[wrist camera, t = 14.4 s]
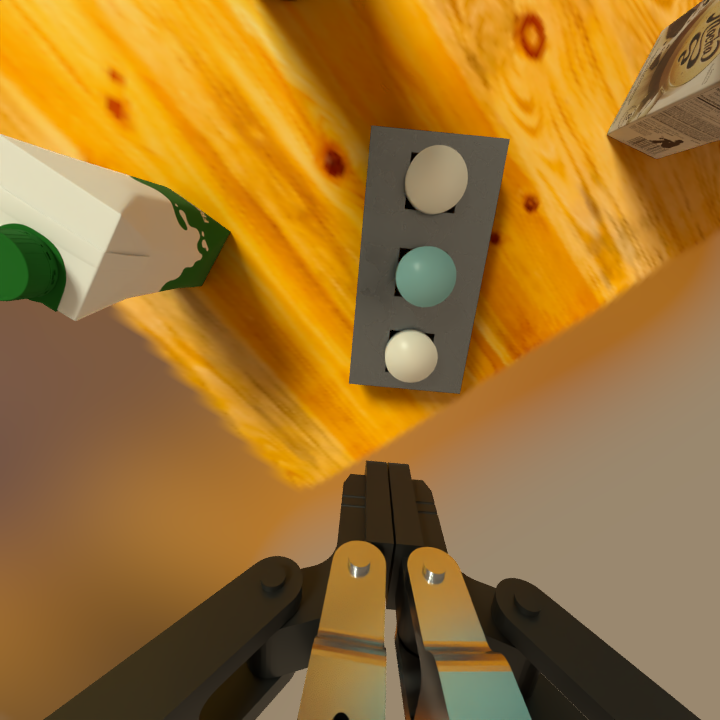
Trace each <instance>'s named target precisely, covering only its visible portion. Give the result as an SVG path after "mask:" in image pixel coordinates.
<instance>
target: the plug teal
mask: <svg viewBox="0 0 720 720" xmlns="http://www.w3.org/2000/svg"><path fill="white" fill-rule="evenodd" d="M395 281H396V286H397V288H398V290H399V292H400V294H401V295H402V296H403V298H404V299H405V300H406V301H408V302H409V303H411V304H413V305H415V306H418V307H431V306H435V305H437V304H439V303H441V302H443V301H444V300H445V299H446V298H447V297H448V296H449V295H450V293H451V292H452V290H453V288H454V286H455V282H456V268H455V264H454V262H453V260H452V259H451V257H450V256H449V255H448V254H447V253H446V252H445V251H443V250H442V249H439V248H437V247H432V246H423V247H417V248H415V249H412V250H411V251H409V252H408V253H406V254H405V255H404V256H403V257H402V259H401V260H400V262H399V264H398V266H397V269H396V273H395Z"/></svg>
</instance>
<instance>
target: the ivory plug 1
mask: <svg viewBox="0 0 720 720" xmlns="http://www.w3.org/2000/svg"><path fill="white" fill-rule="evenodd" d="M467 182H468V171H467V167H466V164H465V161H464V159H463V158H462V156H461V155H460V154H459V153H458V152H457V151H456V150H454V149H453V148H451V147H448V146H445V145H434V146H430V147H428V148H425V149H424V150H422V151H421V152H420V153H418V155H417V156H416V157H415V158H414V159H413V161H412V162H411V164H410V166H409V168H408V170H407V173H406V177H405V192H406V196H407V198H408V200H409V202H410V204H411V205H412V206H413V207H414V208H415V209H416V210H418V211H420V212H422V213H424V214H429V215H434V214H440V213H442V212H445V211H447V210H449V209H450V208H452V207H453V206H455V205H456V204H457V203H458V202H459V200H460V199H461V198H462V196H463V194H464V192H465V190H466V187H467Z"/></svg>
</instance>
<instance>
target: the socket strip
mask: <svg viewBox="0 0 720 720" xmlns="http://www.w3.org/2000/svg"><path fill="white" fill-rule="evenodd" d="M509 140H510V139H504V138H493V137H483V136H473V135H463V134H452V133H442V132H432V131H422V130H412V129H401V128H391V127H381V126H371V136H370V148H369V159H368V171H367V182H366V194H365V205H364V217H363V228H362V240H361V251H360V263H359V274H358V286H357V297H356V309H355V320H354V332H353V343H352V355H351V366H350V378H349V383H350V384H360V385H371V386H382V387H393V388H404V389H414V390H425V391H436V392H447V393H458V394H460V389H461V384H462V379H463V374H464V369H465V364H466V359H467V354H468V348H469V343H470V338H471V333H472V328H473V323H474V318H475V313H476V308H477V303H478V298H479V292H480V287H481V282H482V277H483V272H484V267H485V262H486V257H487V252H488V247H489V242H490V236H491V231H492V226H493V221H494V216H495V211H496V206H497V201H498V196H499V191H500V186H501V180H502V175H503V170H504V165H505V160H506V155H507V150H508V145H509ZM434 145H445V146H448V147H451V148H453V149H454V150H456V151H457V152H458V153H459V154H460V155H461V156H462V158H463V159H464V161H465V164H466V167H467V171H468V182H467V187H466V190H465V192H464V194H463V196H462V198H461V199H460V200H459V202H458V203H457V204H456V205H455V206H453V207H452V208H450V209H449V210H447V211H445V212H444V213H440V214H434V215H429V214H424V213H422V212H420V211H418V210H411V209H405V201H406V192H405V177H406V173H407V170H408V168H409V166H410V164H411V162H412V161H413V159H414V158H415V157H416V156H417V155H418V153H420V152H421V151H422V150H424V149H425V148H428V147H430V146H434ZM423 246H432V247H437V248H439V249H442V250H443V251H445V252H446V253H447V254H448V255H449V256H450V257H451V259H452V260H453V262H454V264H455V268H456V282H455V286H454V288H453V290H452V292H451V293H450V295H449V296H448V297H447V298H446V299H445V300H444V301H443V302H441V303H439V304H437V305H435V306H431V307H418V306H415V305H413V304H411V303H409V302H408V301H406V300H405V299H404V298H403V296H402V295H401V294H400V292H399V291H395V284H396V281H395V273H396V269H397V266H398V259H399V251H400V248H402V249H415V248H417V247H423ZM408 329H413V330H418V331H421V332H423V333H425V334H426V335H427V336H428V337H429V338H430V339H431V341H432V342H433V343H434V345H435V347H436V350H437V354H438V359H437V364H436V367H435V369H434V370H433V372H432V373H431V374H430V375H429V376H428V377H427V378H425V379H423V380H421V381H418V382H412V383H408V382H403V381H400V380H398V379H396V378H395V377H394V376H392V375H391V373H390V372H389V371H388V369H387V366H386V362H385V348H386V345H387V343H388V341H389V334H390V330H399V331H403V330H408Z"/></svg>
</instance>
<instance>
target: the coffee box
mask: <svg viewBox="0 0 720 720" xmlns="http://www.w3.org/2000/svg"><path fill="white" fill-rule="evenodd" d="M607 135H608V136H610V137H612V138H614V139H616V140H618V141H620V142H623V143H625V144H627V145H629V146H631V147H633V148H635V149H637V150H639V151H641V152H643V153H645V154H647V155H649V156H651V157H653V158H655V159H659V158H662V157H665V156H668V155H671V154H675V153H678V152H681V151H685V150H688V149H691V148H695V147H698V146H701V145H704V144H708V143H711V142H714V141H718V140H720V0H703V1H702V2H700V3H699V4H697V5H696V6H695V7H693V8H692V9H691V10H690V11H688V12H687V13H686V14H684V15H683V16H681V17H680V18H679V19H677V20H676V21H675V22H673V23H672V24H671V25H669V26H668V27H666V28H665V29H664V30H663V31H662V32H661V34H660V36H659V38H658V39H657V41H656V43H655V45H654V47H653V49H652V51H651V53H650V54H649V56H648V58H647V60H646V62H645V64H644V66H643V68H642V69H641V71H640V73H639V75H638V77H637V79H636V81H635V82H634V84H633V86H632V88H631V90H630V92H629V94H628V95H627V97H626V99H625V101H624V103H623V105H622V107H621V109H620V110H619V112H618V114H617V116H616V118H615V120H614V122H613V123H612V125H611V127H610V129H609V131H608V133H607Z"/></svg>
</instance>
